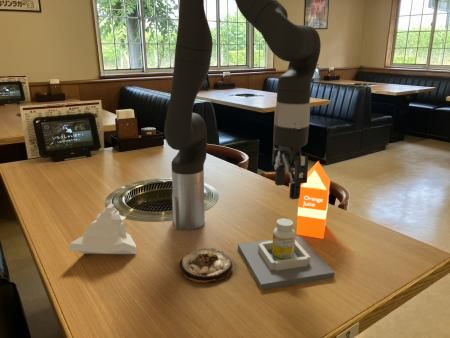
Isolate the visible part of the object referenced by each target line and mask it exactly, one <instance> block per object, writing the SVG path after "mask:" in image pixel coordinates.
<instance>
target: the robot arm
mask: <svg viewBox="0 0 450 338" xmlns="http://www.w3.org/2000/svg"><path fill="white" fill-rule="evenodd" d="M234 1H235V4H236V7H237V9H238V11H239V12H240V13H241V15H242V16H243V18H244V19H246V21H247V22H248V23H250V25H251V26H253V27H254V29H255V30H256V31H257V32H258V33H260V34H261V36H262V38H263V39H264V41H265V43H266V44H267V46H268V48H269V50H270V51H271V52H272V54H273V55H274V56H276V57H277V58H278V59H280V60H282V61H284V62H287V63H288V66H287V70H286V72H284V73H283V74H281V75H280V76H279V77H278V80H277V85H276V86H277V87H276V88H277V89H276V102H275V103H276V105H275V108H274V118H273V119H274V120H273V121H274V122H273V139H272V141H273V143H272V154H271V155H272V157H271V165H272V166H274V170H275V176H274V179H275V180H274V184H275V185H276V186H284V185H285V181H286V179H285V178H286V174H287V175H289V181H290V186H289V194H288V195H289V198H290V199H291V200H299V198H300V188H301V183H307V175H308V172H309V156H308V155H302V148H303V147H304V146H306V145H307V144H308V142H309V141H308V139H309V129H310V119H311V118H310V116H311V112H310V111H311V110H310V107H311V106H310V102H311V89H312V81H313V79H314V76H315V72H316V69H317V66H318V62H319V58H320V54H321V47H322V46H321V45H322V44H321V38H320V34H319V33H318V31H317V30H316V28H314V27H312V26H311V25H305V24H303V25H301V24H295V23H293V22H291V21H290V19H288V16H289V14H288V11H287V9H286V8H285V7H284V5H283V4H281V3H280V2H279V1H278V0H234ZM178 9H179V11H178V22H177V23H178V24H177V34H176V42H175V49H174V58H173V59H174V60H173V61H174V62H173V72H172V81H171V89H170V90H171V91H170V95H169V96H170V97H169V101H168V106H167V111H166V112H167V113H166V116H165V121H164V130H163V134H164V140H165V141H166V143H167V145H168V146H169V147H170V148H171V149H173V150H174V151H178V152H177V154H176V155H175V156H174V157H173V159H172V161H171V179H172V180H171V181H172V182H171V183H172V186H171V187H172V192H171V199H172V201H171V203H172V205H171V207H172V221H173V225H174V228H175V229H176V230H183V231H184V230H187V231H190V230H197V229H200V228H201V227H203V226H204V225H205V223H206V221H205V218H206V217H205V216H206V215H205V177H204V176H205V174H204V173H205V170H204V169H205V168H204V167H205V162H206V159H207V153H208V152H207V149H208V144H207V143H208V129H207V126H206V122H205V119H204V118H203V117H202V116H201V115H200V114H199V113H197V112H196V113H195V112H193V109H194V105H195V101H196V98H197V95H198V94H199V92H200V89H201V88H202V86H203V85H204V82H205V80H206V79H207V75H208V73H209V70H210V67H211V61H212V55H213V54H212V53H213V48H214V47H213V45H214V43H213V34H212V31H211V29H210V25H209V22H208V18H207V15H206V10H205V0H179V8H178Z"/></svg>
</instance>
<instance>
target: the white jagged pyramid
mask: <svg viewBox="0 0 450 338" xmlns="http://www.w3.org/2000/svg"><path fill="white" fill-rule="evenodd" d="M126 217H127V216H124V215H121V214H120V210H118V209H116V206H115V204H114V203H112V202H110V203H108V205H107V206H106V207H105V208H104V210H102V211H101V212H99V213H98V215H97V216H96V219H95V220H94V221H92V222H91V223H90V224H88V226H87V227H86V228H85V229H84V233H83V235H81V236H80V237H78V238H76V239H74V240H73V241H70V242H69V246H68V247H69V248H68V251H71V252H74V253H75V252H76V253H79V254H85V255H89V254H91V255H92V254H93V255H137V250H138V248H137V245H136V243H135V241H134V240H133V238H132V235H131V234H129V233H128V232H127V228H128V227H127V226H128V225H127V224H126V223H125V224H124V222H125V219H126Z"/></svg>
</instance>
